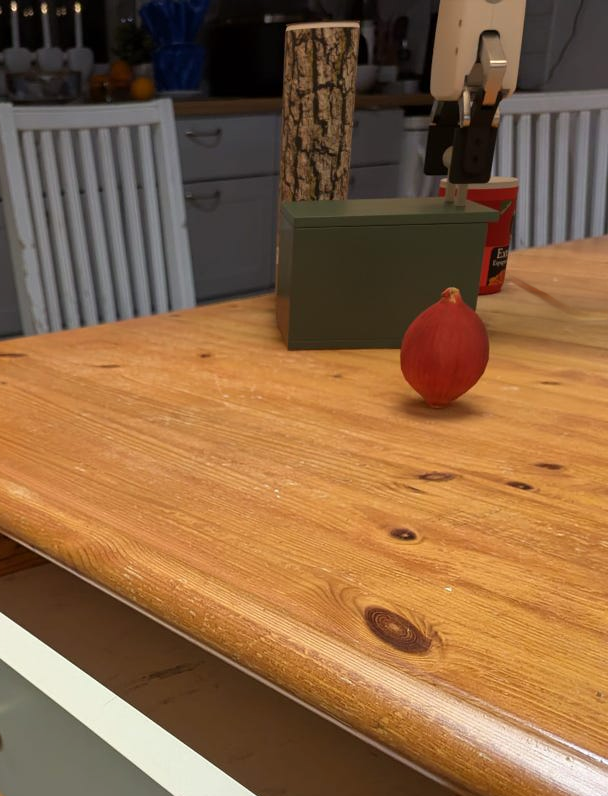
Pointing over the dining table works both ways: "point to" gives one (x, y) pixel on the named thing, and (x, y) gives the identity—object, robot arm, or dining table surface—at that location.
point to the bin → (370, 280)
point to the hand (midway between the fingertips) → (454, 179)
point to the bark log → (317, 112)
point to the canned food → (493, 226)
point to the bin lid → (391, 209)
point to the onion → (445, 350)
